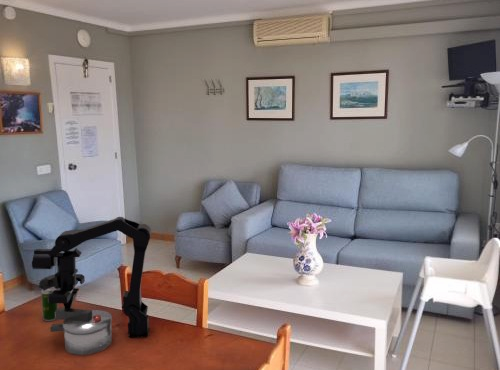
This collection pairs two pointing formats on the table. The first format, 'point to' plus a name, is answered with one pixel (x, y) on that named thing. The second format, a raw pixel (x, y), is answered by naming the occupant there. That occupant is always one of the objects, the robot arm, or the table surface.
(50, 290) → the beer can
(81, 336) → the cooker pot
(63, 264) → the robot arm
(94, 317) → the cooker lid
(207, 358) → the table surface
